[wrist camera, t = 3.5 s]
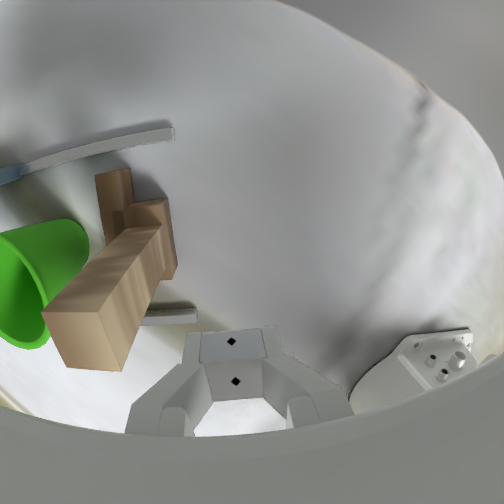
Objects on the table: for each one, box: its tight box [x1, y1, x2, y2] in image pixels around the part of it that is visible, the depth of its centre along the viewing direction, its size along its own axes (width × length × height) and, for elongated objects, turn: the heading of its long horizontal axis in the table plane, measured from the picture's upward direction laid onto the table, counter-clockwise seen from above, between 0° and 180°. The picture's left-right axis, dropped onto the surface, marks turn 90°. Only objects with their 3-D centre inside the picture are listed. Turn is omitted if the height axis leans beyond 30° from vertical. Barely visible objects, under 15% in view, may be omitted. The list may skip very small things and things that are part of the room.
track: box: [19, 127, 198, 326], centre depth 23 cm, size 16×18×1 cm
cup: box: [0, 218, 89, 350], centre depth 18 cm, size 9×9×11 cm
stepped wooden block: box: [41, 168, 178, 372], centre depth 16 cm, size 5×12×15 cm, turn 4°
